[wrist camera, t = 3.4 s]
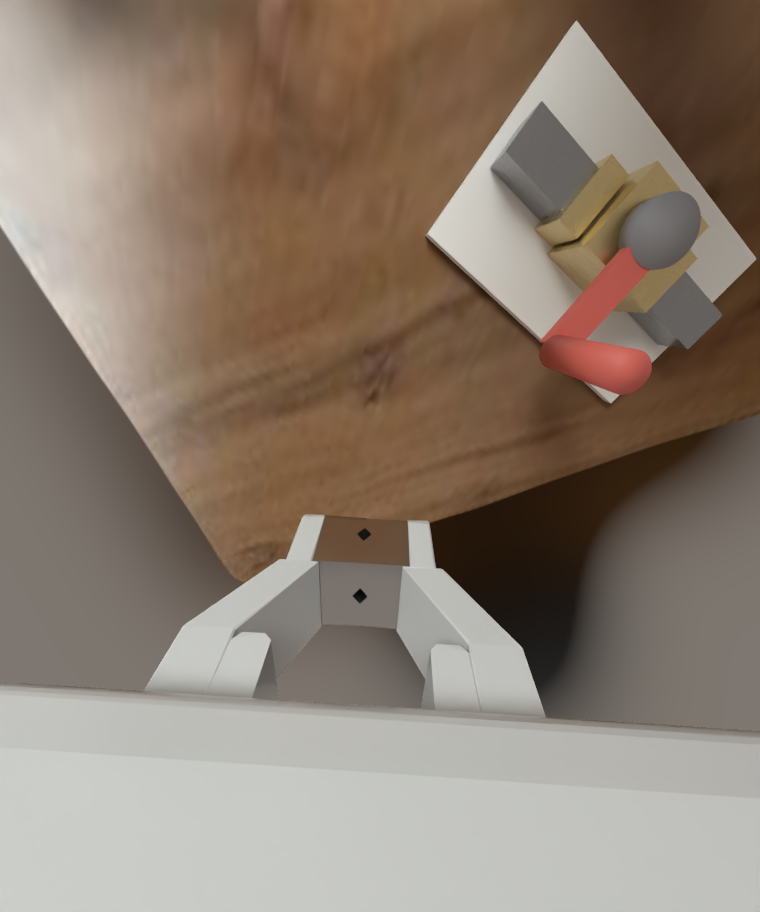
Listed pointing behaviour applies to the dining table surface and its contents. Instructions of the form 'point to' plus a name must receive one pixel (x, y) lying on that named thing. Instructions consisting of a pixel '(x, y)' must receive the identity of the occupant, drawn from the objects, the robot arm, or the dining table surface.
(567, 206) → the valve and pipe
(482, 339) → the dining table surface
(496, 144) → the mounting board
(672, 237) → the lever
